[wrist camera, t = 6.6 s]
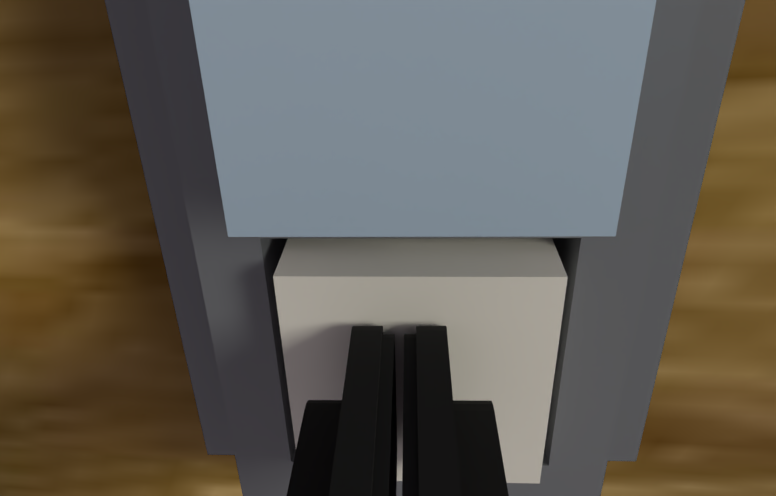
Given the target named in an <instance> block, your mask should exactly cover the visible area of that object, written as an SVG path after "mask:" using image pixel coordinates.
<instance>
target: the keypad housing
mask: <svg viewBox="0 0 776 496" xmlns="http://www.w3.org/2000/svg"><path fill="white" fill-rule="evenodd" d="M105 4H106V8H107V13H108V17H109V21H110V26H111V30H112V35H113V39H114V44H115V48H116V52H117V57H118V61H119V66H120V70H121V74H122V79H123V83H124V88H125V92H126V96H127V101H128V105H129V110H130V114H131V118H132V123H133V127H134V132H135V136H136V140H137V145H138V149H139V154H140V158H141V162H142V167H143V171H144V176H145V180H146V184H147V189H148V193H149V198H150V202H151V206H152V211H153V215H154V220H155V224H156V228H157V233H158V237H159V242H160V246H161V250H162V255H163V259H164V264H165V268H166V272H167V277H168V281H169V286H170V290H171V294H172V299H173V303H174V308H175V312H176V316H177V321H178V325H179V330H180V334H181V339H182V343H183V347H184V352H185V356H186V361H187V365H188V369H189V374H190V378H191V383H192V387H193V391H194V396H195V400H196V405H197V409H198V413H199V418H200V422H201V427H202V431H203V435H204V440H205V444H206V449H207V453H208V454H211V455H235V458H236V463H237V468H238V473H239V478H240V483H241V488H242V493H243V496H287V491H288V486H289V481H290V476H291V472H292V467H293V462H294V457H295V452H296V447H295V440H294V432H293V424H292V417H291V409H290V402H289V394H288V386H287V379H286V371H285V364H284V356H283V348H282V341H281V333H280V326H279V318H278V310H277V303H276V295H275V287H274V280H273V275H274V273H275V270H276V268H277V265H278V262H279V260H280V257H281V255H282V252H283V250H284V247H285V245H286V242H287V239H288V238H552V239H553V242H554V244H555V247H556V249H557V252H558V254H559V257H560V259H561V262H562V264H563V267H564V269H565V272H566V274H567V277H568V278H567V286H566V293H565V301H564V308H563V315H562V323H561V330H560V337H559V345H558V352H557V360H556V367H555V374H554V382H553V389H552V396H551V404H550V411H549V419H548V426H547V433H546V441H545V448H544V455H543V463H542V470H541V478H540V484H538V483H507V488H508V494H509V496H600V495H601V490H602V485H603V480H604V475H605V471H606V466H607V461H636V459H637V455H638V451H639V446H640V442H641V438H642V434H643V430H644V425H645V421H646V417H647V413H648V408H649V404H650V400H651V396H652V392H653V387H654V383H655V379H656V375H657V370H658V366H659V362H660V358H661V354H662V349H663V345H664V341H665V337H666V333H667V328H668V324H669V320H670V316H671V311H672V307H673V303H674V299H675V295H676V290H677V286H678V282H679V278H680V273H681V269H682V265H683V261H684V257H685V252H686V248H687V244H688V240H689V235H690V231H691V227H692V223H693V219H694V214H695V210H696V206H697V202H698V198H699V193H700V189H701V185H702V181H703V176H704V172H705V168H706V164H707V160H708V155H709V151H710V147H711V143H712V138H713V134H714V130H715V126H716V122H717V117H718V113H719V109H720V105H721V101H722V96H723V92H724V88H725V84H726V79H727V75H728V71H729V67H730V63H731V58H732V54H733V50H734V46H735V41H736V37H737V33H738V29H739V25H740V20H741V16H742V12H743V8H744V4H745V0H656V6H655V12H654V17H653V23H652V29H651V35H650V41H649V46H648V52H647V58H646V64H645V69H644V75H643V81H642V87H641V93H640V98H639V104H638V110H637V116H636V122H635V127H634V133H633V139H632V145H631V151H630V156H629V162H628V168H627V174H626V179H625V185H624V191H623V197H622V203H621V208H620V214H619V220H618V226H617V232H616V236H564V237H228V233H227V227H226V221H225V215H224V209H223V203H222V197H221V191H220V185H219V179H218V173H217V167H216V161H215V155H214V149H213V143H212V137H211V131H210V125H209V119H208V113H207V107H206V101H205V95H204V89H203V83H202V77H201V71H200V65H199V59H198V53H197V47H196V41H195V35H194V29H193V23H192V17H191V10H190V4H189V0H105ZM396 496H402V481H397V489H396Z"/></svg>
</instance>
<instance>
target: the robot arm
mask: <svg viewBox="0 0 776 496" xmlns="http://www.w3.org/2000/svg"><path fill="white" fill-rule="evenodd" d="M396 489H397V416H396V371H395V334H383V326H352V330H351V337H350V345H349V352H348V359H347V367H346V374H345V381H344V388H343V396H342V400H308V401H307V403H306V406H305V409H304V414H303V419H302V424H301V428H300V433H299V438H298V443H297V448H296V452H295V457H294V462H293V467H292V472H291V476H290V481H289V486H288V491H287V496H396ZM402 496H509V494H508V488H507V483H506V477H505V471H504V465H503V459H502V453H501V447H500V441H499V435H498V429H497V423H496V417H495V411H494V407H493V403H492V401H465V400H453V394H452V383H451V371H450V360H449V349H448V337H447V327H446V326H416V334H404V384H403V466H402Z"/></svg>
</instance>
